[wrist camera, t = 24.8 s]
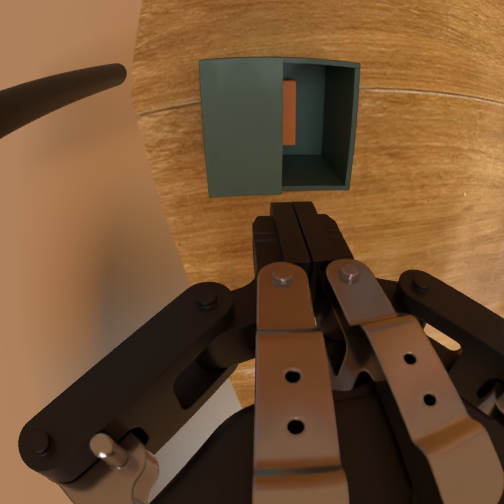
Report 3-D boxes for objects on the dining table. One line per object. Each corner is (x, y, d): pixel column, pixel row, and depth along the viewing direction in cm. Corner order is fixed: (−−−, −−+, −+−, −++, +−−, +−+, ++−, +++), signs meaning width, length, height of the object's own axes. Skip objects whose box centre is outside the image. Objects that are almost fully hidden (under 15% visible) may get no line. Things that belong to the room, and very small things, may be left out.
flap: (209, 195, 27) (208, 197, 27) (199, 60, 20) (198, 60, 20) (281, 192, 27) (281, 194, 27) (282, 57, 20) (283, 57, 20)
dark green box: (214, 159, 35) (208, 194, 28) (208, 58, 28) (198, 59, 20) (323, 157, 36) (349, 190, 28) (328, 59, 28) (360, 63, 21)
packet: (251, 138, 33) (253, 146, 31) (249, 78, 29) (251, 80, 27) (290, 137, 34) (295, 145, 31) (291, 78, 29) (296, 80, 27)
